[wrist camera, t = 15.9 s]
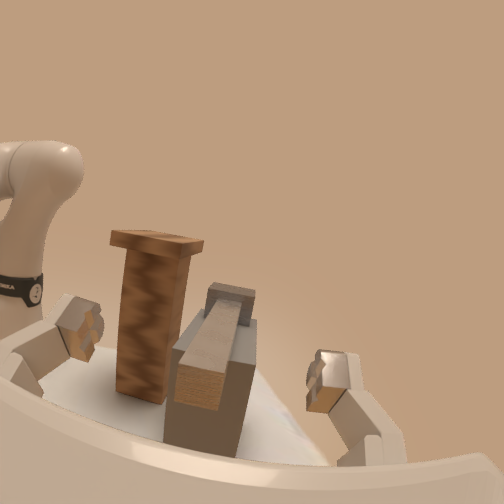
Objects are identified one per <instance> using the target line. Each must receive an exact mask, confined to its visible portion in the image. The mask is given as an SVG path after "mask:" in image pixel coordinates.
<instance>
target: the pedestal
mask: <svg viewBox="0 0 504 504" xmlns="http://www.w3.org/2000/svg"><path fill="white" fill-rule="evenodd" d="M204 311H205V310H204V309H201V310H200V311H199V313H198V314H197V315H196V317H195V318H194V319H193V321H192V322H191V323H190V325H189V326H188V327H187V329H186V330H185V331H184V333H183V334H182V335H181V337H180V338H179V339H178V341H177V342H176V343H175V345H174V346H173V347H172V353H171V361H170V370H169V380H168V390H167V401H166V412H165V424H164V438H163V443H165V444H169V445H173V446H177V447H181V448H185V449H190V450H194V451H199V452H204V453H209V454H214V455H220V456H225V457H231V458H235V456H236V451H237V447H238V443H239V439H240V434H241V430H242V426H243V421H244V417H245V412H246V408H247V404H248V399H249V395H250V390H251V385H252V381H253V376H254V372H255V367H256V333H257V331H256V330H257V329H256V328H257V320H255V319H251V320H250V326H249V327H247V326H242V325H238V326H237V330H236V334H235V339H234V343H233V347H232V352H231V356H230V360H229V364H228V369H227V373H226V377H225V381H224V386H223V390H222V394H221V399H220V403H219V407H218V411H216V410H211V409H206V408H201V407H197V406H192V405H188V404H184V403H180V402H176V401H174V396H175V387H176V378H177V370H178V363H179V361H180V359H181V358H182V356H183V355H184V353H185V351H186V350H187V348H188V347H189V345H190V343H191V342H192V340H193V338H194V337H195V335H196V334H197V332H198V330H199V329H200V327H201V326H202V324H203V322H204V321H205V319H206V318H204Z"/></svg>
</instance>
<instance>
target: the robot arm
mask: <svg viewBox="0 0 504 504" xmlns="http://www.w3.org/2000/svg"><path fill="white" fill-rule="evenodd" d="M83 175H84V163H83V159H82V156H81V154H80V152H79V150H78V149H77V148H75V147H74V146H71V145H68V144H66V143H62V142H58V141H18V142H5V143H0V201H1V200H4V199H9V198H13V200H12V203H11V205H10V208H9V210H8V212H7V214H6V216H5V217H4V219H3V220H2V221H1V222H0V504H504V474H503V472H502V471H501V470H500V469H499V468H498V467H497V466H496V465H495V464H494V463H493V462H492V461H491V460H490V459H489V458H488V457H487V456H486V455H484V454H483V453H481V452H475V453H470V454H465V455H461V456H455V457H450V458H444V459H437V460H430V461H424V462H415V463H407V456H406V449H405V442H404V435H403V433H402V432H401V430H400V429H399V428H398V427H397V425H396V424H395V423H394V422H393V420H392V419H391V418H390V417H389V416H388V414H387V413H386V412H385V411H384V409H383V408H382V407H381V406H380V405H379V403H378V402H377V401H376V400H375V398H373V396H372V395H371V394H370V392H369V391H365V389H364V383H363V376H362V369H361V363H360V357H359V355H358V354H354V353H344V352H339V351H330V350H321V349H319V350H318V351H317V352H316V354H315V361H313V362H311V364H310V366H309V369H308V373H307V380H306V386H307V388H308V389H309V390H310V391H309V393H308V394H307V396H306V402H307V403H306V411H309V412H318V413H327V414H328V416H329V418H330V419H331V421H332V423H333V424H334V426H335V428H336V429H337V431H338V433H339V435H340V436H341V438H342V440H343V441H344V443H345V445H346V446H347V448H348V450H349V451H348V452H347V453H346V454H345V455H343V456H342V457H341V458H340V459H338V460H337V467H334V466H305V465H290V464H278V463H268V462H259V461H252V460H244V459H238V458H231V457H225V456H220V455H214V454H209V453H204V452H199V451H194V450H190V449H185V448H181V447H177V446H173V445H169V444H165V443H161V442H158V441H154V440H150V439H147V438H144V437H140V436H137V435H134V434H131V433H127V432H124V431H121V430H118V429H115V428H113V427H110V426H107V425H104V424H101V423H99V422H96V421H93V420H91V419H88V418H86V417H83V416H81V415H78V414H76V413H74V412H71V411H69V410H67V409H64V408H62V407H60V406H57V405H55V404H53V403H51V402H49V401H47V400H45V399H43V398H42V396H43V394H44V392H43V389H42V388H41V386H40V385H39V383H38V382H37V381H38V380H40V379H41V378H42V377H44V376H45V375H47V374H48V373H49V372H51V371H52V370H54V369H55V368H56V367H58V366H59V365H61V364H62V363H63V362H65V361H66V360H68V359H69V358H70V357H73V358H75V359H78V360H81V361H84V362H87V363H88V362H89V360H90V358H91V356H92V354H93V352H94V350H95V349H94V344H95V343H97V342H99V341H100V339H101V337H102V335H103V331H104V320H103V318H102V317H101V316H100V314H99V313H100V312H101V308H100V304H98V303H95V302H92V301H89V300H86V299H83V298H80V297H77V296H74V295H71V294H68V293H65V294H63V295H62V296H61V298H60V299H59V300H58V302H57V303H56V304H55V306H54V307H53V309H52V310H51V311H50V313H49V314H48V316H47V317H46V318H45V320H44V321H43V316H42V307H41V298H42V291H43V273H42V261H43V251H44V244H45V239H46V234H47V231H48V228H49V225H50V223H51V221H52V219H53V217H54V215H55V213H56V212H57V210H58V209H59V208H60V206H61V205H62V204H63V203H64V202H65V201H66V200H68V199H69V198H71V197H72V196H73V195H74V194H75V193H76V191H77V190H78V188H79V187H80V185H81V182H82V179H83Z"/></svg>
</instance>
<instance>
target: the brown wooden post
mask: <svg viewBox="0 0 504 504" xmlns="http://www.w3.org/2000/svg"><path fill="white" fill-rule="evenodd" d="M203 243H204V241H203V240H199V239H193V238H188V237H183V236H177V235H171V234H166V233H161V232H156V231H147V230H146V231H145V230H112V232H111V238H110V245H112V246H116V247H121V248H126V249H127V253H126V260H125V268H124V276H123V284H122V293H121V303H120V314H119V328H118V343H117V363H116V391H117V392H120V393H123V394H127V395H130V396H133V397H136V398H140V399H143V400H147V401H150V402H154V403H157V404H161V405H162V403H163V401H164V399H165V397H166V396H167V390H168V380H169V370H170V361H171V353H172V347H173V346H174V345H175V343H176V342H177V341H178V339H179V333H180V325H181V318H182V310H183V304H184V298H185V291H186V285H187V278H188V272H189V265H190V260H191V255H194V254H197V253H200V252H202V249H203Z"/></svg>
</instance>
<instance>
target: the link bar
mask: <svg viewBox="0 0 504 504" xmlns="http://www.w3.org/2000/svg"><path fill="white" fill-rule="evenodd" d="M254 299H255V290H252V289H247V288H241V287H236V286H231V285H226V284H220V283H216V282H214V283H213V284H212V285H211V286H210V287H209V289H208V293H207V299H206V306H205V311H204V318H206V319H205V321H204V322H203V324H202V326H201V327H200V329H199V330H198V332H197V334H196V335H195V337H194V338H193V340H192V342H191V343H190V345H189V347H188V348H187V350H186V351H185V353H184V355H183V356H182V358H181V359H180V361H179V363H178V370H177V378H176V387H175V396H174V401H176V402H180V403H184V404H188V405H192V406H197V407H201V408H206V409H211V410H216V411H218V407H219V403H220V399H221V394H222V390H223V386H224V381H225V377H226V373H227V369H228V364H229V360H230V356H231V352H232V347H233V343H234V339H235V334H236V330H237V326H238V325H242V326H247V327H249V326H250V320H251V315H252V310H253V305H254Z"/></svg>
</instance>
